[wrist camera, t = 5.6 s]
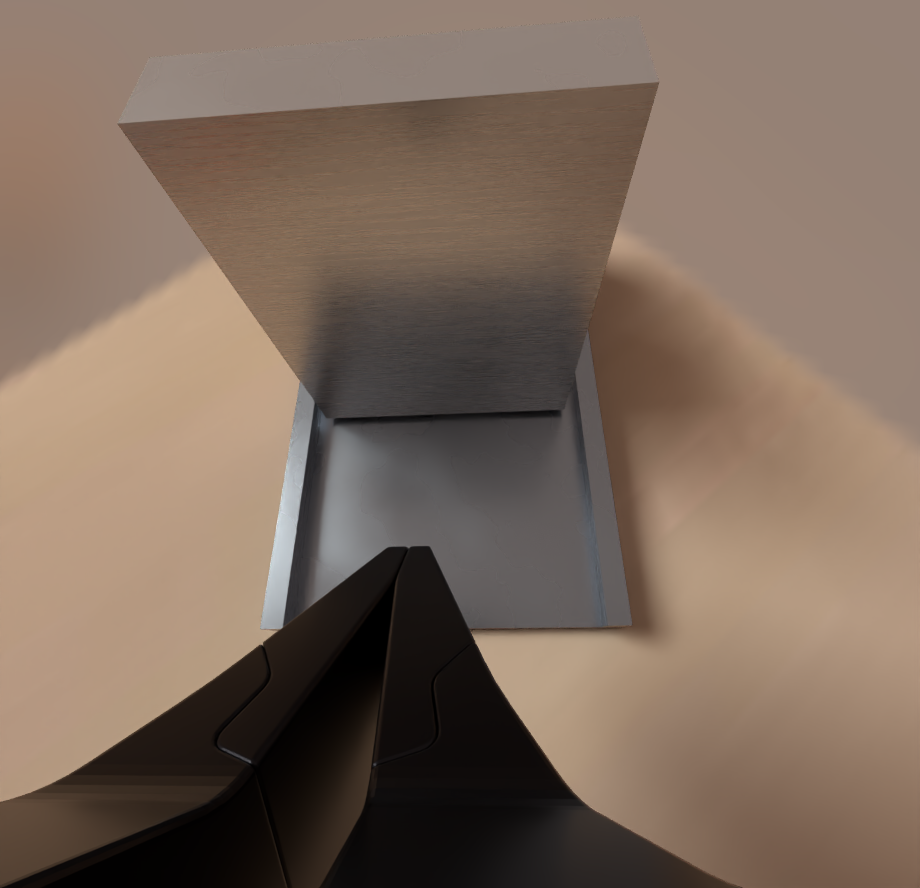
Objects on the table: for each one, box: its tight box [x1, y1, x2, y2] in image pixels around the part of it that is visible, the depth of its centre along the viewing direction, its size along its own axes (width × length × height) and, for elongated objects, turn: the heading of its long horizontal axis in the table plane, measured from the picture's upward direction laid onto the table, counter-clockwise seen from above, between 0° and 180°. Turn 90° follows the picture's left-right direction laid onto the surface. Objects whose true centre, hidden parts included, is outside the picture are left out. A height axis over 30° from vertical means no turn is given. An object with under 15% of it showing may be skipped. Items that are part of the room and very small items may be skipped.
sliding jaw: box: [118, 16, 659, 418], centre depth 13 cm, size 2×9×11 cm, turn 90°
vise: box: [260, 330, 632, 631], centre depth 16 cm, size 16×11×5 cm
